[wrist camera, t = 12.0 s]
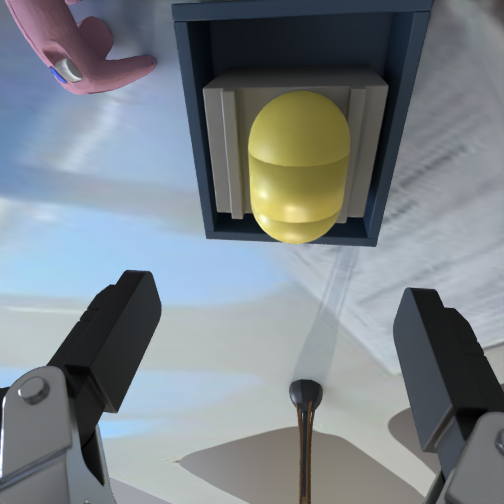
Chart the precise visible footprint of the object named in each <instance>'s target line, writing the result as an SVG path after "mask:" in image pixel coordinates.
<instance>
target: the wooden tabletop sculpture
mask: <svg viewBox="0 0 504 504" xmlns="http://www.w3.org/2000/svg"><path fill="white" fill-rule="evenodd" d="M289 393H290V398H291V401H292V403H293V404H294V406H295V407H296V408H297V416H298V427H299V448H300V464H299V469H300V470H299V472H300V473H299V504H311V487H310V486H311V480H310V479H311V473H310V472H311V438H312V427H313V419H314V413H315V410H316V409H317V407H318V406H319V405H320V403H321V400H322V396H323V390H322V388H321V386H320V384H318V383H316V382H314V381H312V380H298V381H295V382H292V384H291V386H290V389H289ZM311 412H312V416H311ZM302 413H303V420H302ZM310 417H311V422H310Z"/></svg>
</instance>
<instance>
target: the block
mask: <svg viewBox="0 0 504 504" xmlns="http://www.w3.org/2000/svg"><path fill="white" fill-rule="evenodd" d="M388 88H389V86H388V84H387V83H386V82H385V81H384V80H383V79H382V78H381V77H380V76H379V75H378V74H377V73H376V72H375V71H374V69H373V68H372V67H371V66H370V65H368V64H366V65H323V66H279V67H236V68H227V69H226V70H224V71H223V72H222V73H221V74H220V75H218V76H217V77H216V78H215V79H214V80H212V81H211V82H210V83H209V84H208V85H206V86H205V87H204V88H203V95H204V103H205V112H206V120H207V129H208V137H209V146H210V154H211V163H212V171H213V180H214V188H215V197H216V205H217V212H231V214H232V218H233V219H243V217H244V214H245V213H253V211H252V206H251V197H250V175H249V154H248V143H249V136H250V132H251V128H252V125H253V123H254V121H255V119H256V117H257V116H258V114H259V113H260V112H261V110H262V109H263V108H264V107H265V106H266V105H267V104H268V103H269V102H270V101H272V100H273V99H275V98H277V97H279V96H280V95H282V94H285V93H289V92H293V91H310V92H314V93H318V94H321V95H322V96H324V97H326V98H328V99H330V100H331V101H332V102H333V103H334V104H335V105H336V106H337V107H338V108H339V109H340V111H341V112H342V113H343V115H344V117H345V119H346V121H347V124H348V126H349V130H350V136H351V142H350V155H349V162H348V169H347V176H346V183H345V190H344V197H343V204H342V208H341V212H340V214H339V216H338V218H337V220H336V222H335V223H346V221H347V217H363V216H364V212H365V207H366V202H367V197H368V192H369V186H370V181H371V176H372V171H373V166H374V160H375V155H376V150H377V145H378V140H379V134H380V129H381V124H382V119H383V114H384V109H385V103H386V98H387V93H388Z"/></svg>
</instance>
